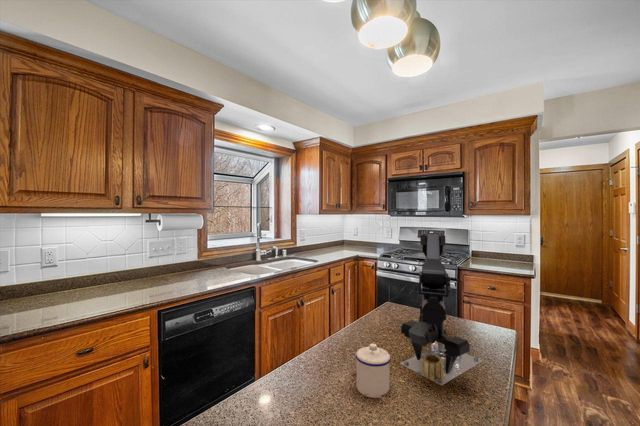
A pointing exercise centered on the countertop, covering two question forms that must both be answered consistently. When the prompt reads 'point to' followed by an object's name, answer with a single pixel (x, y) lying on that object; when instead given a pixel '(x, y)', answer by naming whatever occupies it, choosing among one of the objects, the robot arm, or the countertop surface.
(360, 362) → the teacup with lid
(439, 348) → the carrier plate
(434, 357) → the planet gear
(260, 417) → the countertop surface
